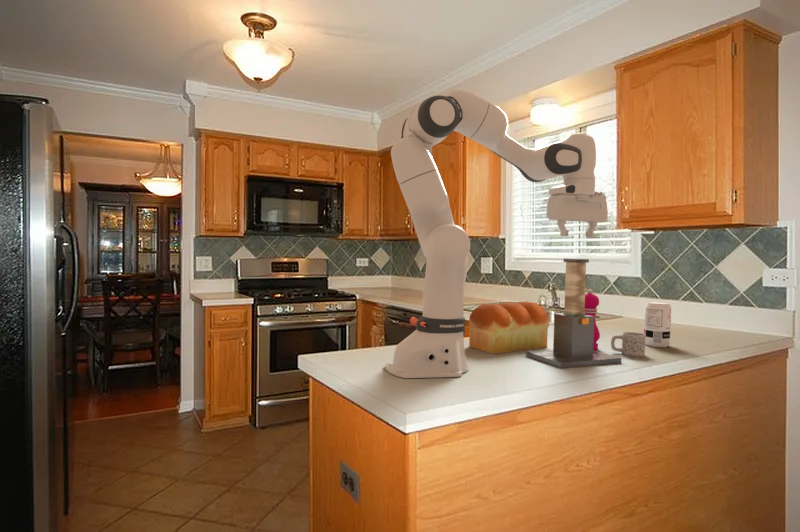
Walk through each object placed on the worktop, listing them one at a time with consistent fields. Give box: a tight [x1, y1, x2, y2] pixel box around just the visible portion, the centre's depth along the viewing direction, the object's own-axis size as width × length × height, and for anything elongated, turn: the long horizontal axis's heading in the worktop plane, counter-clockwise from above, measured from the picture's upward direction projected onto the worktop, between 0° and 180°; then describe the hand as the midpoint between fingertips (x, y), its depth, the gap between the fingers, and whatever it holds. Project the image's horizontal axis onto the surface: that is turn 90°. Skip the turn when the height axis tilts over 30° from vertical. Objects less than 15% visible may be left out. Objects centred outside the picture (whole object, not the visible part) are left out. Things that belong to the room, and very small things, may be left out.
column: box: [563, 258, 590, 316], centre depth 148 cm, size 5×5×21 cm
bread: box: [467, 301, 550, 355], centre depth 165 cm, size 25×12×15 cm, turn 122°
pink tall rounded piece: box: [584, 288, 601, 351], centre depth 165 cm, size 7×7×20 cm
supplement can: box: [643, 301, 672, 348], centre depth 173 cm, size 8×8×15 cm
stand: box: [525, 312, 622, 369], centre depth 148 cm, size 22×16×14 cm
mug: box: [610, 331, 646, 358], centre depth 158 cm, size 10×7×7 cm, turn 75°
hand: (576, 236), depth 147 cm, fingers open, 8 cm apart
